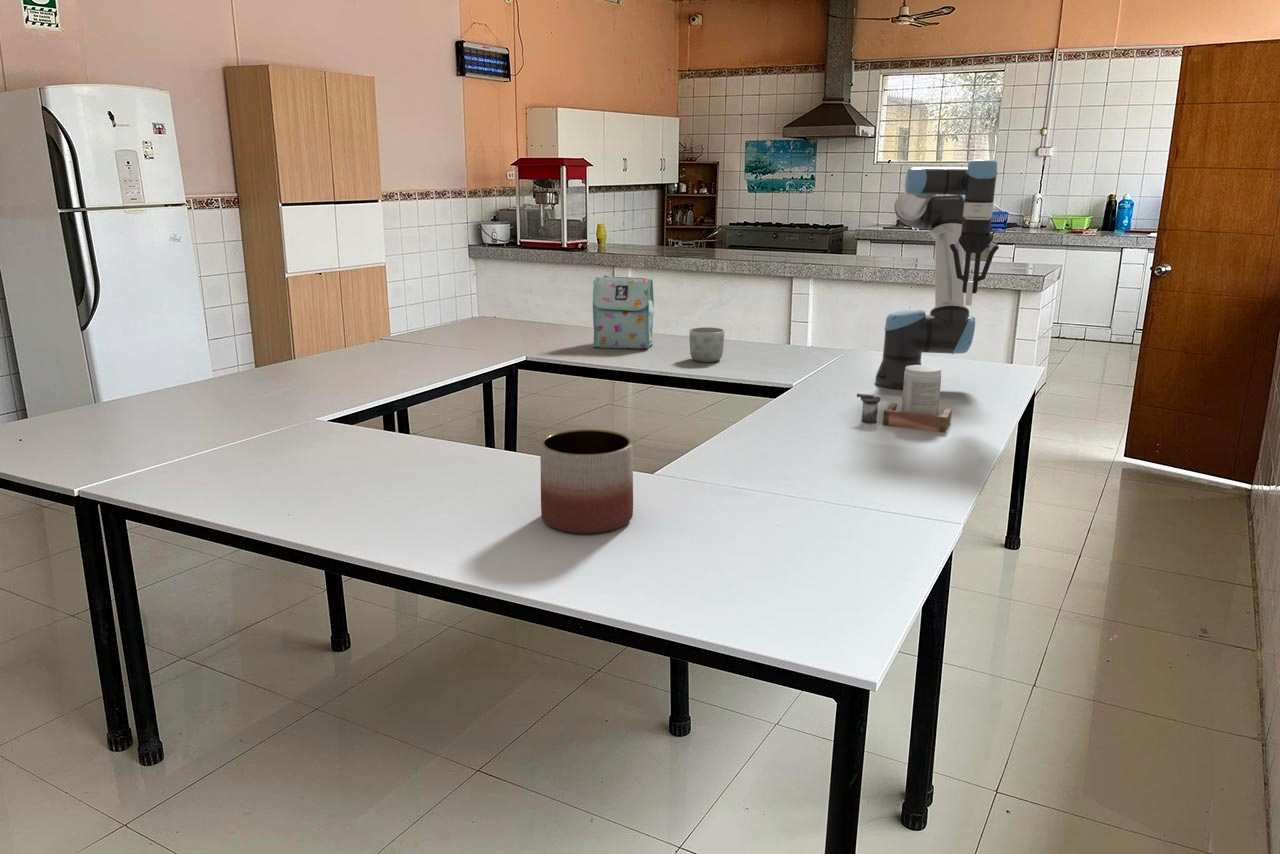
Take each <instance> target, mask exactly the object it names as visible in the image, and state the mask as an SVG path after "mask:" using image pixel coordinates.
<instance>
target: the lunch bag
mask: <svg viewBox="0 0 1280 854" xmlns="http://www.w3.org/2000/svg"><path fill="white" fill-rule="evenodd" d="M654 299H655V298H654V283H653V278H648V277H647V278H646V277H636V276H635V277H634V276H611V275H609V276H608V275H605V274H604V275H603V276H595V280H593V290H592V323H593V324H592V326H593V343H592V344H593V345H592V347H593V348H594V347H596V348H598V347H601V348H600V349H628V348H629V350H630V349H632V350H633V349H636V350H637V349H639V350H640V349H642V350H643V349H646V348H647V349H649V348H650V346H651V345H654V342H653V328H654V327H653V326H654V325H653V323H654V315H655V314H654V313H655V310H654V305H655V302H654V301H655V300H654Z"/></svg>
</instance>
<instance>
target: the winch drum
mask: <svg viewBox="0 0 1280 854" xmlns="http://www.w3.org/2000/svg"><path fill="white" fill-rule="evenodd" d="M856 398H860V401H861V402H862V408H861V410H862V411H861V419H860V422H861V423H863V424H869V425H870V424H871V425H872V424H877V421H878V419H877V418H878V411H879V409H878V407H879V403H880V402H881V401H882V400H881V399H882V398H881V397H880V396H875V394H868V393H867V394H866V393H856Z"/></svg>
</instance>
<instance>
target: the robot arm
mask: <svg viewBox="0 0 1280 854" xmlns="http://www.w3.org/2000/svg"><path fill="white" fill-rule="evenodd" d="M997 175H998V163H997V161H996V160H994V159H971V160H970V161H968V164H967V167H932V166H931V167H927V166H925V167H924V166H917V167H909V168H908V169H907V171H906V174H905V179H904V180H905V181H904V182H905V184H904V189H905V191H903V192H901V193H900V194H899V196H898V197H897V198H896V200H895V203H894V213H895V215H896V217H897V219H898V220H899V221H900V222H902V224H905V225H906V226H907V227H910V228H914V229H921V230H930V236H931V237H932V238H933V239H934V240H935V252H934V253H935V259H934V261H935V265H934V267H935V268H934V269H935V270H934V272H935V274H934V275H935V276H934V277H935V280H934V284H935V287H934V288H935V291H934V293H935V296H934V298H935V299H934V300H935V301H934V303H935V304H934V305H935V306H934V307H933V308H932V309H931V310H930V312H929V315H927V314H926V311H925V310H922V309H905V310H900V311H899V310H898V311H894V312H893V311H892V312H891V313H889V314H888V315H887V316H886V319H885V327H884V340H883V341H884V342H883V351H882V353H883V354H882V361H881V363H880V365H879V368H878V370H877V372H876V375H875V379H874V383H875V384H876V385H877V386H879V387H885V388H889V389H896V390H897V389H898V390H903V385H904V374H905V373H904V372H905V367H906V366H910V365H922V353H923V354H924V353H926V354H952V355H954V354H965V353H967V352H968V351H969V349H971V346H972V343H973V340H974V336H975V329H976V317H975V316H972V315H970V310H969V308H968V306H970V307H971V305H972V302H973V295H974V294H977V292H978V285H979V282H980V281H983V280H985V279H986V277H987V275H988V272H989V269H990V267H991V264H992V261H993V259H994V256H995V253H996V252H997V251H998V250H999V248H1000V246H999V245H998V244H996V243H994V242H993V241H992V237H991V231H992V230H991V229H992V220H991V219H990V218H992V217H993V211H994V200H995V190H996V183H997ZM988 247H989V248H988ZM986 248H988V251H989V253H988V255H987V258H986V260H985V264H984V267H983V269H982V272H981V275H980V270H981V269H980V267H981V261H982V260H981V257H982V253H983V252H984V251H985V250H986ZM964 253H965V254H964ZM972 253H974V254H975V258H974V266H973V276H972V279H973V280H969V279H970V271H971V270H970V268H971V261H972V260H971V259H972Z"/></svg>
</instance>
